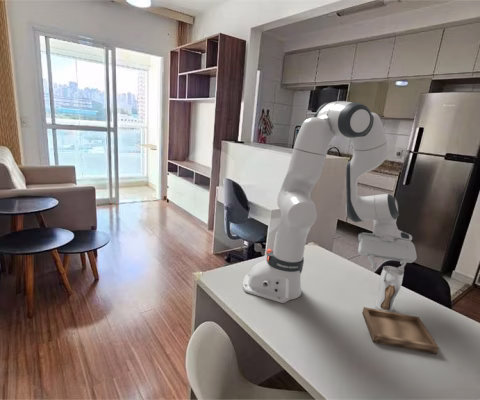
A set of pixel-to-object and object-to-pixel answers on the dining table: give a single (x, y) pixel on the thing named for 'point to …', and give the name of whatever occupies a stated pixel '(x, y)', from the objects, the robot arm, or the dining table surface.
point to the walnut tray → (399, 330)
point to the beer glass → (388, 287)
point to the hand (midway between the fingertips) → (387, 269)
